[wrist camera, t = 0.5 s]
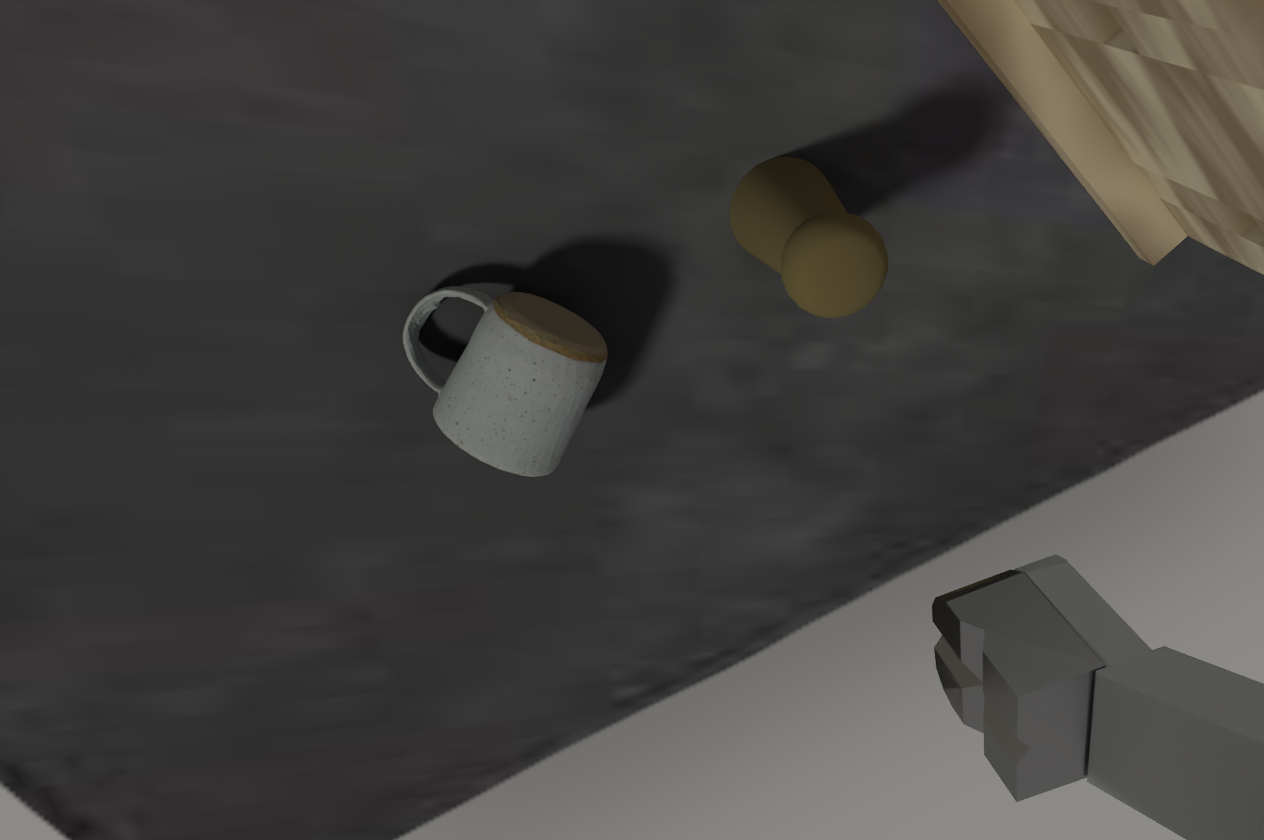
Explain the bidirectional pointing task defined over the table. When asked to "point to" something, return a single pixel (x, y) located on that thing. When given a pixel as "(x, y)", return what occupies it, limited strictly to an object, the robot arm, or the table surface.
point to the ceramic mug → (513, 379)
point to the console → (1143, 108)
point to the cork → (808, 237)
